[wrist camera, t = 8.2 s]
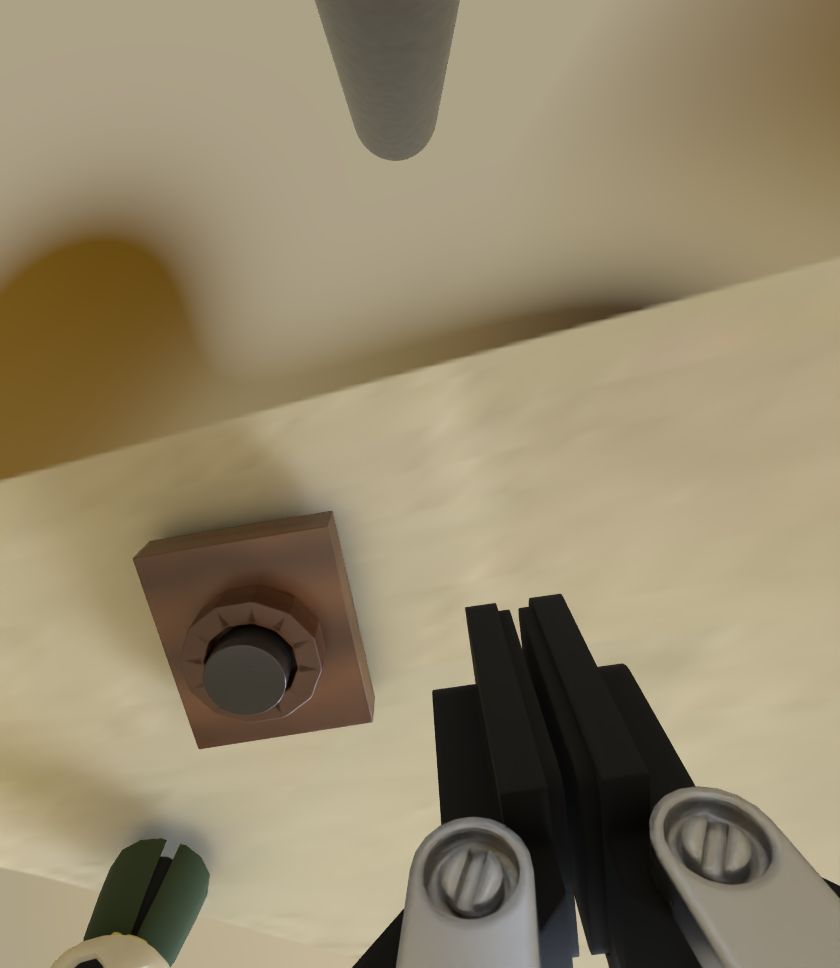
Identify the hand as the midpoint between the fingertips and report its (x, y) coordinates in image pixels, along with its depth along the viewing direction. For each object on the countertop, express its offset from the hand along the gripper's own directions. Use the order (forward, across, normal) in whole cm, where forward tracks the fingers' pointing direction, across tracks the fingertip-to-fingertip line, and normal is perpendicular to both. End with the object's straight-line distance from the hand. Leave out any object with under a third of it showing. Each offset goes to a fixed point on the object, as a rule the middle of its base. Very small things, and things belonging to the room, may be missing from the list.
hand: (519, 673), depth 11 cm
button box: (+21, +11, +11) cm, 26 cm away
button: (+17, +11, +11) cm, 23 cm away
